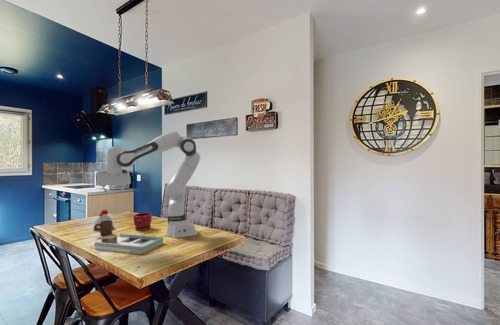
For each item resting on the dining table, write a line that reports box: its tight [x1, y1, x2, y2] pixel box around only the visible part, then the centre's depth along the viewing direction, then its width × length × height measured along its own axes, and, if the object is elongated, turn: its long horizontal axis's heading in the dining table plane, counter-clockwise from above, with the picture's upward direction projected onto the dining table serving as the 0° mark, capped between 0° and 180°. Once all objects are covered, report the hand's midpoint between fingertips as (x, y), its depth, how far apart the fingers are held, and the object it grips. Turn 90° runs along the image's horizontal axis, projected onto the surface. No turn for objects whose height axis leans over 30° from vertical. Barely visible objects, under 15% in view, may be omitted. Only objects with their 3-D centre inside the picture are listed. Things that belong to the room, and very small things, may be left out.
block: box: [100, 235, 118, 244], centre depth 154 cm, size 6×6×4 cm
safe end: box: [129, 238, 164, 255], centre depth 151 cm, size 8×20×4 cm, turn 163°
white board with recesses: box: [94, 232, 164, 254], centre depth 155 cm, size 34×20×4 cm, turn 73°
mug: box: [93, 220, 113, 237], centre depth 179 cm, size 12×8×9 cm, turn 146°
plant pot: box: [133, 212, 152, 231], centre depth 195 cm, size 13×13×12 cm
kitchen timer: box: [93, 209, 114, 232], centre depth 197 cm, size 14×14×15 cm
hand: (113, 191), depth 163 cm, fingers open, 8 cm apart
